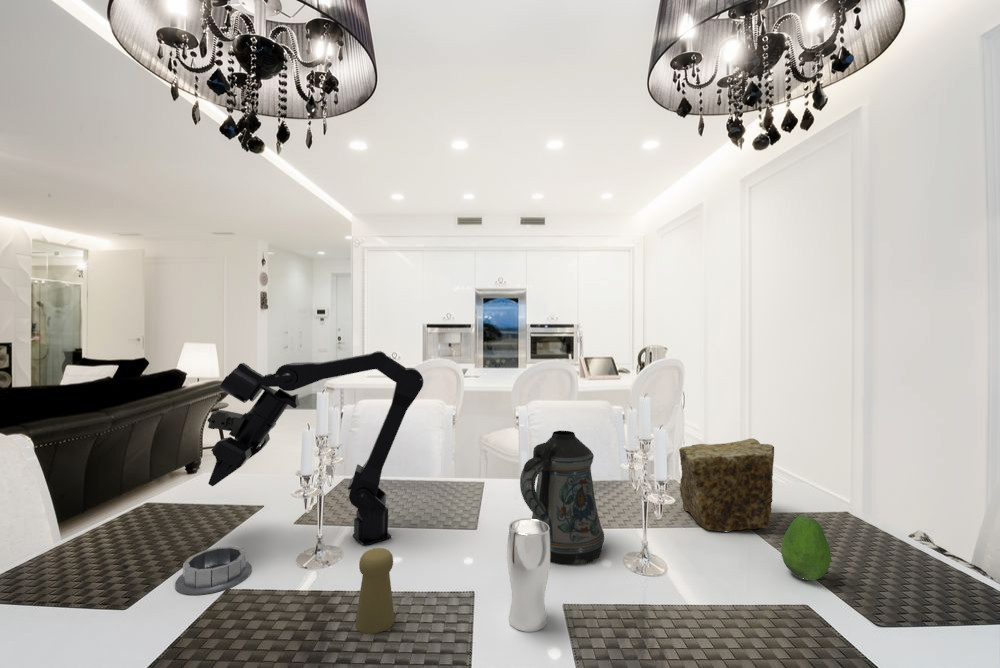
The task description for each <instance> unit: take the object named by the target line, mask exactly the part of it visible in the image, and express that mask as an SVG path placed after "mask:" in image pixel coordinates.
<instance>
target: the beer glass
mask: <svg viewBox="0 0 1000 668" xmlns="http://www.w3.org/2000/svg"><path fill="white" fill-rule="evenodd" d="M507 534H508V535H507V550H506V551H507V552H506V554H507V555H506V556H507V557H506V559H507V570H508V576H509V583H510V590H511V604H510V609H509V615H508V622H509V624H510V625H511V626H512V627H513V628H514V629H516V630H518V631H521V632H525V633H535V632H538V631H541V630H543V629H544V628H545V627H546V625H547V622H548V617H547V609H546V603H545V602H546V599H545V598H546V591H547V584H548V581H549V574H550V568H551V567H550V566H551V562H550V560H551V543H550V527H549V525H548V524H547V523H545V522H543V521H541V520H537V519H532V518H519V519H515V520H513V521H511V522H510V523H509V525H508V533H507Z"/></svg>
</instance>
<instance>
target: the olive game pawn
mask: <svg viewBox="0 0 1000 668" xmlns="http://www.w3.org/2000/svg"><path fill="white" fill-rule="evenodd" d="M358 563H359V567H358V568H359V572H360V574H361V575H362V579H361V583H360V585H361V586H360V589H359V597H358V605H357V610H356V611H357V612H356V616H355V623H354V624H355V625H354V626H355V628H356V630H357V631H358V630H359V631H358V632H360V633H362V634H367V635H368V634H370V635H373V634H380V633H381V632H382V633H383V632H385V631H387V630H388V629H390V628H391V627H392V626H393V625H394V623H395V621H396V620H395V619H396V618H395V611H394V610H395V609H394V602H393V591H392V584H391V576H390V572H391V571H392V569H393V566H394V557H393V554H392V552H391V551H390V550H389V549H386V548H382V547H375V548H372V549H368V550H366V551H364V552H363V553H362V555H361V557H360V558H359V562H358Z"/></svg>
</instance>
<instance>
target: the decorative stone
mask: <svg viewBox="0 0 1000 668" xmlns="http://www.w3.org/2000/svg"><path fill="white" fill-rule="evenodd" d="M678 451H679V458H680V465H681V469H680V470H681V477H680V484H679V485H680V486H679V491H680V497H681V500H682V508H683V510H684V511H685V512H686V511H688V512H687V513H690V514H691V516H692V518H693V519H694V520H695V521H696V522H697V524H698V525H699V526H700V527H702V528H703V529H705V530H707V529H708V530H707V531H718V532H721V531H728V532H731V531H733V530H735V531H737V530H738V531H740V530H741V531H742V530H744V529H750V530H753V529H759V528H765V529H767V528H769V527H770V518H771V517H772V503H773V501H774V500H773V474H774V472H773V471H774V458H775V446H774V445H773V444H769V443H760V441H759V440H757V439H755V438H747V439H742V440H737V441H733V442H726V443H714V444H709V443H708V444H706V443H698V444H692V445H689V446H687V445H686V446H681V447H680V448H679V450H678Z"/></svg>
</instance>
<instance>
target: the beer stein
mask: <svg viewBox="0 0 1000 668" xmlns="http://www.w3.org/2000/svg"><path fill="white" fill-rule="evenodd" d="M575 434H576V433H575V432H574V431H570V430H555V431H553V432H552V435H551V437H550V438H549V439H547V441H545V442H543V443H539V444H537V445H535V446H534V448H533V451H532V453H533V455H532V458H529V459H528V460H527V461H526V463H524V465H523V469H522V471H521V474H520V477H519V484H520V485H519V486H520V493H521V496H522V499H523V500H524V503H525V504H526V505H527V507H528V508H529V511H531V512H532V515H531V519H537V520H541V521H543V522H545V523H547V524H548V525H549V527H550V543H551V560H550V563H553V564H558V565H564V566H565V565H567V566H578V565H579V566H580V565H587V564H589V563H592V562H593V563H594V562H595V560H597V559H599V558H600V557H601V555H602V553H603V547H604V543H605V533H604V530H603V527H602V525H601V522H600V517H599V514H598V508H597V503H596V497H595V491H594V489H595V488H594V485H593V484H594V482H593V475H592V468H591V467H592V464H593V461H594V453H593V451H592V450H591V449H590V448H589V447H588V446H586V444H584V443H583V442H582V441H581V440H580V439H579V438H578V437H576V435H575ZM536 480H537V482H536ZM535 486H536V487H535Z"/></svg>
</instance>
